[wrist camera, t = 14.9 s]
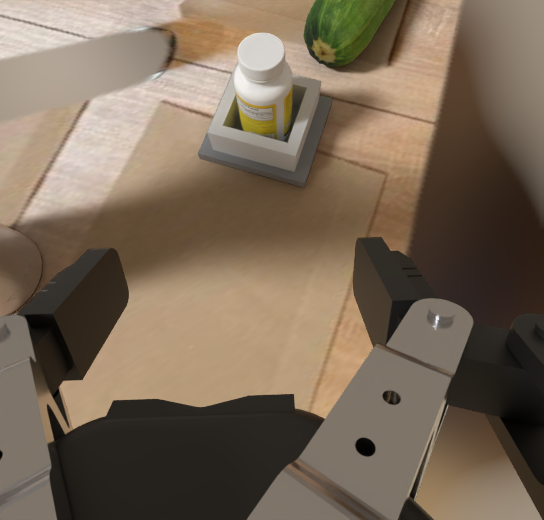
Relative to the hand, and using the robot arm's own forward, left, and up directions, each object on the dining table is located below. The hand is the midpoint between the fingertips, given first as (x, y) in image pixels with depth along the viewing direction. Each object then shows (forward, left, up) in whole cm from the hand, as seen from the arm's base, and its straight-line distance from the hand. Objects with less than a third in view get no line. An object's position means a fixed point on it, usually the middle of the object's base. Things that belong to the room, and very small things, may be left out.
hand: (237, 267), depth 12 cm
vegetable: (0, +39, -23) cm, 45 cm away
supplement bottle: (-7, +20, -22) cm, 30 cm away
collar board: (-7, +21, -22) cm, 31 cm away
